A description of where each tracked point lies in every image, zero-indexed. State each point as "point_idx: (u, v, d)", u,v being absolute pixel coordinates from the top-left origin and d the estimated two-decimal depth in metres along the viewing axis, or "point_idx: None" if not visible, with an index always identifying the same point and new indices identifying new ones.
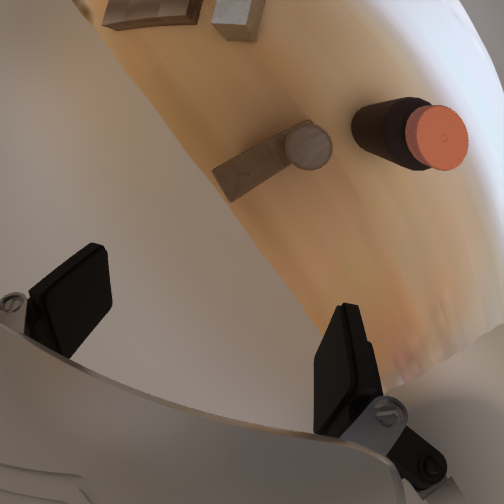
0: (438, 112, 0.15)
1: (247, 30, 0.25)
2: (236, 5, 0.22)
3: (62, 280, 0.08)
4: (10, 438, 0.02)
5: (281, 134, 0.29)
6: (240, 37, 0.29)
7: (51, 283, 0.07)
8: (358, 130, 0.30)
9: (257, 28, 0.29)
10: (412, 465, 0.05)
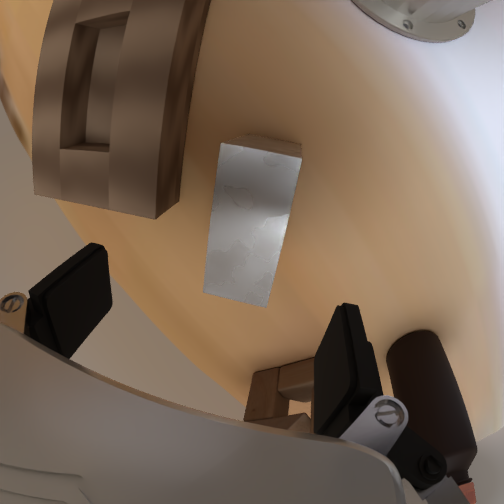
0: None
1: None
2: (248, 265, 0.16)
3: (62, 280, 0.08)
4: (10, 438, 0.02)
5: (304, 415, 0.23)
6: None
7: (51, 284, 0.07)
8: (393, 387, 0.24)
9: None
10: (412, 465, 0.05)
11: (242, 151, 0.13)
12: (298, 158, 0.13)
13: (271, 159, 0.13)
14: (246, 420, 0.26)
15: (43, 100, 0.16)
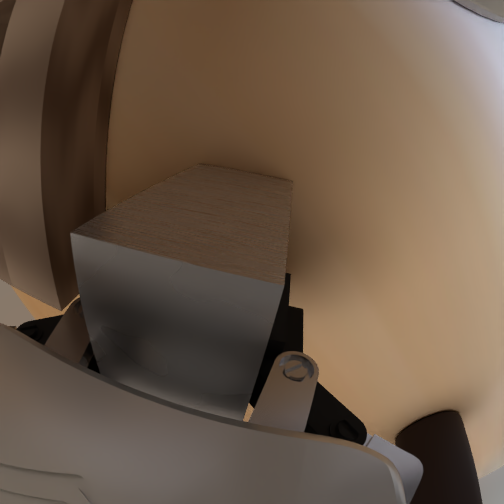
0: None
1: None
2: None
3: None
4: (10, 438, 0.02)
5: None
6: None
7: None
8: None
9: None
10: (322, 426, 0.06)
11: (116, 257, 0.05)
12: (273, 283, 0.04)
13: (192, 283, 0.05)
14: None
15: None
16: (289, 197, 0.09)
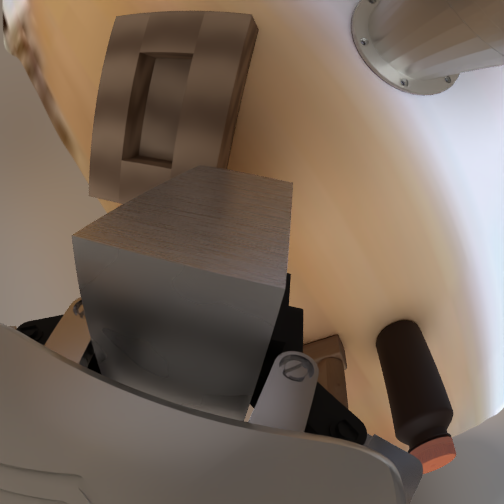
0: (438, 458, 0.16)
1: None
2: None
3: None
4: (10, 438, 0.02)
5: None
6: None
7: None
8: (382, 364, 0.31)
9: None
10: (322, 426, 0.06)
11: (117, 259, 0.05)
12: (274, 286, 0.04)
13: (194, 287, 0.05)
14: None
15: (105, 116, 0.23)
16: (289, 199, 0.09)
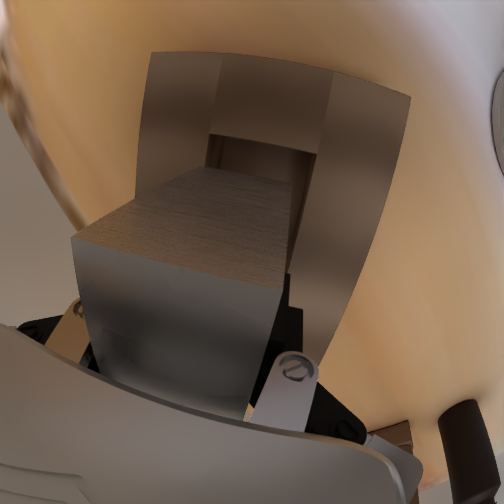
0: None
1: None
2: None
3: None
4: (10, 438, 0.02)
5: None
6: None
7: None
8: (445, 443, 0.24)
9: None
10: (322, 426, 0.06)
11: (115, 261, 0.05)
12: (271, 288, 0.04)
13: (192, 288, 0.05)
14: None
15: None
16: (288, 200, 0.09)
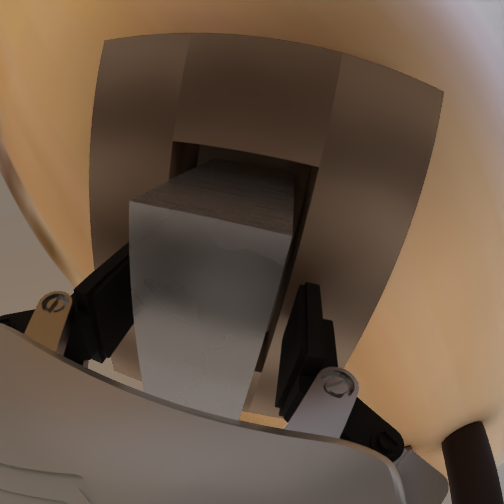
0: None
1: None
2: (203, 389, 0.09)
3: (107, 278, 0.08)
4: (10, 438, 0.02)
5: None
6: None
7: (98, 282, 0.08)
8: (449, 468, 0.20)
9: None
10: (363, 440, 0.05)
11: (168, 218, 0.07)
12: (284, 234, 0.06)
13: (227, 236, 0.06)
14: None
15: None
16: (292, 185, 0.11)
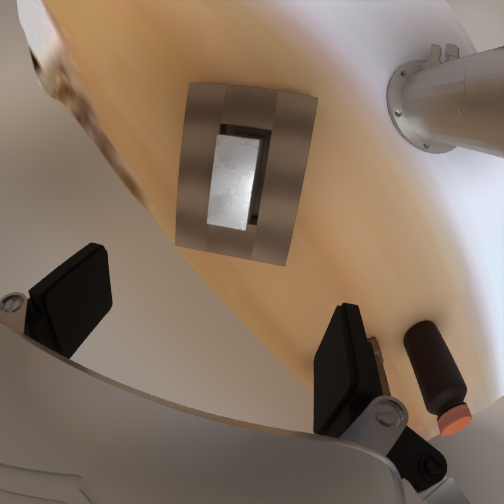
0: (459, 420, 0.23)
1: (247, 223, 0.30)
2: (233, 202, 0.27)
3: (62, 280, 0.08)
4: (10, 438, 0.02)
5: None
6: None
7: (51, 283, 0.07)
8: (410, 357, 0.38)
9: (256, 193, 0.34)
10: (412, 465, 0.05)
11: (228, 138, 0.25)
12: (257, 140, 0.25)
13: (243, 141, 0.25)
14: None
15: (191, 178, 0.31)
16: (264, 138, 0.29)
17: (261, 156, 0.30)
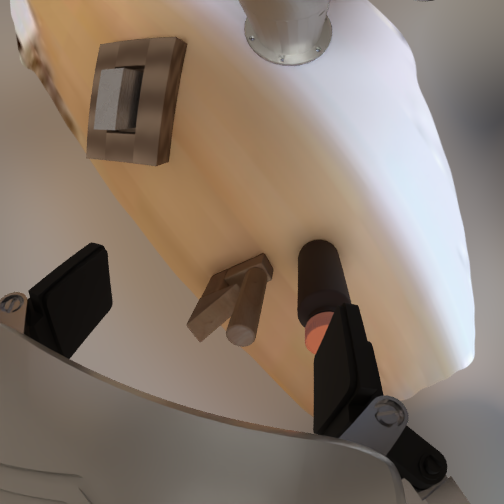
0: (324, 328, 0.28)
1: None
2: (108, 111, 0.32)
3: (62, 280, 0.08)
4: (10, 438, 0.02)
5: (236, 285, 0.42)
6: None
7: (51, 283, 0.07)
8: None
9: None
10: (412, 465, 0.05)
11: (107, 70, 0.29)
12: (122, 68, 0.29)
13: (115, 70, 0.29)
14: (203, 296, 0.45)
15: None
16: (141, 72, 0.34)
17: (139, 84, 0.34)
